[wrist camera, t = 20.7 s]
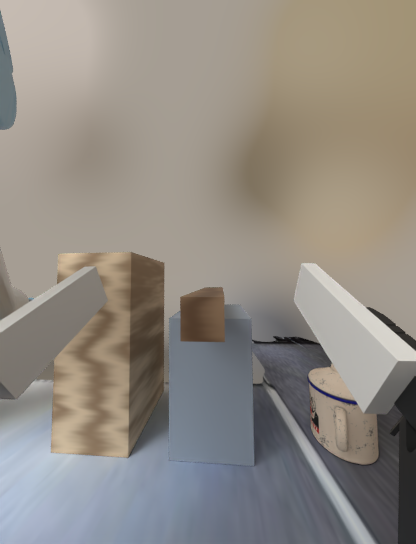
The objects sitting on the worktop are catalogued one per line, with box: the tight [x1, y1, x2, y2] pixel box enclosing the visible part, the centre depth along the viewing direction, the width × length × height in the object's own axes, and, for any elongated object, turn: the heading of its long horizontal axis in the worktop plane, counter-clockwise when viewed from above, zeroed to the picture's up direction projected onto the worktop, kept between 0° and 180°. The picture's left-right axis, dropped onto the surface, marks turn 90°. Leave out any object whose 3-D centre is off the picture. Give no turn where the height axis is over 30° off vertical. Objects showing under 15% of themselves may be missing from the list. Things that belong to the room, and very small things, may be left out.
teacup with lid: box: [308, 363, 379, 465], centre depth 28 cm, size 12×9×12 cm
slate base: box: [169, 305, 254, 466], centre depth 34 cm, size 12×16×20 cm
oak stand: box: [51, 252, 164, 458], centre depth 35 cm, size 12×16×30 cm
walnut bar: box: [180, 287, 225, 342], centre depth 29 cm, size 4×26×4 cm, turn 176°
